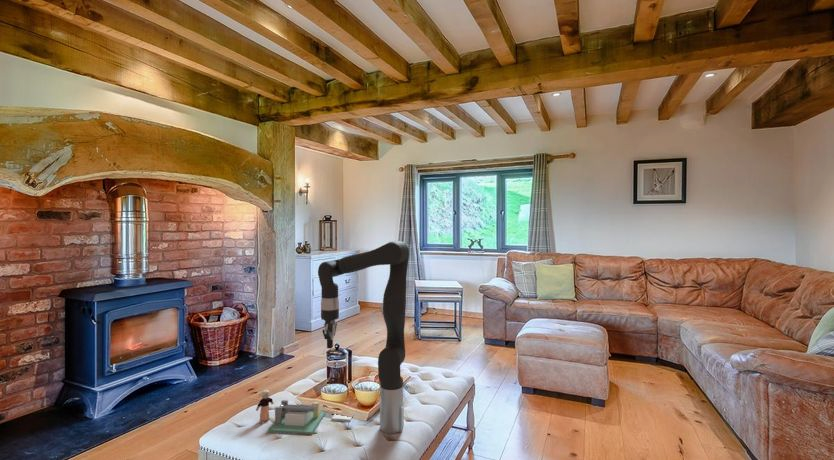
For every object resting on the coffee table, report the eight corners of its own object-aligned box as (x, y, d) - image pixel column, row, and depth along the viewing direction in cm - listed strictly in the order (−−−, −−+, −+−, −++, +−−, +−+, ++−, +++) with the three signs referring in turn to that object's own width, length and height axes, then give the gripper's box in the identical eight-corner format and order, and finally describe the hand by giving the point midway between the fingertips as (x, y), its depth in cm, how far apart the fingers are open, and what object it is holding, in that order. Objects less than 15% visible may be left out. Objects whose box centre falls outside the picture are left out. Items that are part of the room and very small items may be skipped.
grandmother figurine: (261, 425, 157) (261, 394, 157) (254, 423, 159) (254, 392, 159) (276, 416, 164) (275, 387, 164) (269, 414, 166) (269, 385, 165)
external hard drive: (358, 409, 172) (350, 423, 160) (341, 407, 174) (331, 421, 161) (358, 405, 172) (350, 419, 160) (341, 404, 174) (331, 417, 161)
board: (325, 414, 166) (325, 396, 166) (312, 434, 150) (312, 415, 150) (285, 412, 168) (285, 395, 168) (267, 432, 152) (267, 413, 152)
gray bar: (317, 408, 160) (317, 403, 160) (313, 413, 156) (313, 408, 156) (281, 407, 162) (281, 402, 162) (277, 412, 158) (277, 406, 158)
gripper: (333, 311, 158) (333, 353, 159) (342, 304, 171) (342, 343, 172) (316, 310, 159) (316, 352, 159) (326, 304, 172) (326, 342, 172)
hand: (330, 347), depth 165 cm, fingers closed
